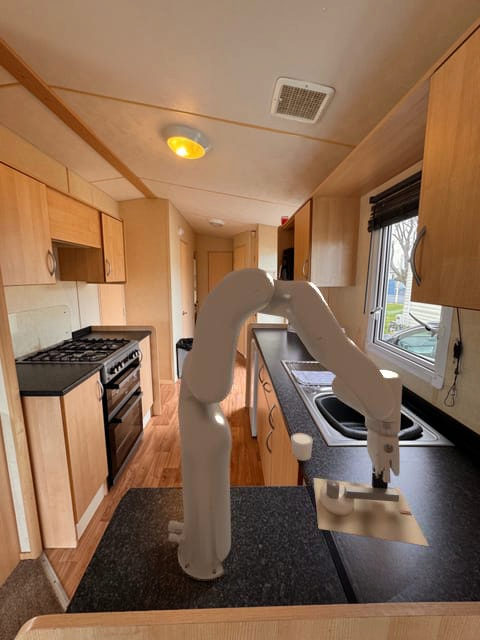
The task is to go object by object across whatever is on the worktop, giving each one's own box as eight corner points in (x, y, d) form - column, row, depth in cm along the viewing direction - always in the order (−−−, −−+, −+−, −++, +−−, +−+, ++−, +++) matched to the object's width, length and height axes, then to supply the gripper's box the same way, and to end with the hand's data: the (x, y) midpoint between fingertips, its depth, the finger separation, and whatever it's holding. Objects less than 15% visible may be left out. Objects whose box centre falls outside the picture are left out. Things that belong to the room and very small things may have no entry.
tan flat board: (318, 534, 60) (318, 527, 60) (313, 482, 75) (313, 477, 75) (428, 552, 56) (429, 545, 55) (399, 493, 71) (399, 487, 71)
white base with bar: (323, 514, 63) (323, 496, 62) (317, 488, 71) (317, 472, 70) (404, 520, 61) (405, 502, 60) (389, 493, 69) (390, 476, 68)
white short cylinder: (287, 462, 84) (287, 441, 83) (293, 450, 90) (294, 430, 89) (309, 468, 81) (310, 447, 80) (314, 455, 87) (315, 435, 86)
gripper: (412, 440, 57) (408, 517, 60) (388, 408, 72) (385, 470, 74) (374, 438, 59) (372, 512, 61) (358, 406, 73) (356, 468, 76)
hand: (379, 489), depth 68 cm, fingers closed
